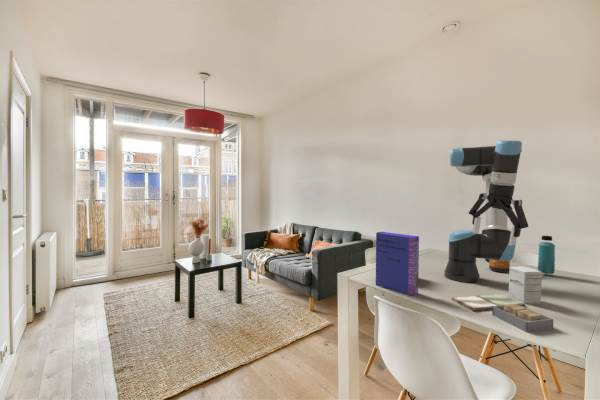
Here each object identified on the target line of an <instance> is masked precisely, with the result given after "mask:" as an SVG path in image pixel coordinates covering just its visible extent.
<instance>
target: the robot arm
mask: <svg viewBox="0 0 600 400" xmlns="http://www.w3.org/2000/svg"><path fill="white" fill-rule="evenodd" d="M522 148H523V143H522V140H521V141H520V140H498V141H497V142H496V145H491V146H490V145H489V146H476V147H457V148H451V150H450V152H449V153H450V154H449V156H450V157H449V158H450V159H449V164H450V166H451V167H455V169H456V170H457V171H458V172H459V173H461V174H463V175H464V174H465V175H467V176H473V177H474V176H477V177H479V176H480V177H482V180H483V181H484V182H485V192H484V193H482V192H481V193H480V194H479V196H478V199H477V200H476V202H475V203H474V204H473V206H472V207H471V208H470V210H469V211H468V215H471V216H472V225H473V228H472V229H459V230H458V229H457V230H453V231H451V232H449V238H448V261H447V263H446V266H445V269H444V274H443V276H444V277H445V278H447V279H449V280H452V281H456V282H461V283H477V282H479V281H481V280H480V273H479V270H478V267H477V263H476V262H477V259H483V260H485V259H491V260H499V261H510V262H511V261H512V260H513V258H514V255H515V250H516V246H517V245H516V244H517V238H519V237H521V232H522V229H527V228H529V223H528V221H527V217H526V214H525V211H524V209H523V200H522V199H513V196H514V192H515V187H516V186H515V184H516V183H517V182H516V180H517V176H518V175H517V174H518V168H519V163H520V159H521V153H522V150H523V149H522ZM484 202H485V204H484V205H483V203H484ZM482 205H483V206H482ZM512 206H513V207H512ZM480 207H481V208H480ZM513 208H514V211H513ZM484 213H485V227H484V228H483V229H482V230H481V233H480V228H481V227H480V226H481V222H482V221H481V220H482V217H481V215H482V214H484ZM508 219H509V220H510V222H511V224H512V225H513V227H511V229H509V228H508Z"/></svg>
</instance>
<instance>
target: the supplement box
mask: <svg viewBox="0 0 600 400" xmlns="http://www.w3.org/2000/svg"><path fill="white" fill-rule="evenodd" d="M508 273H509V274H508V275H509V276H508V277H509V278H508V296H507V297H508V298H510V299H513V300H515V301H518V302H520V303H523V304H525V305H526V304H536V305H541V302H542V283H543V282H542V280H543V273H542V272H541V271H538V269H534V268H531V267H528V266H510V271H509V272H508Z"/></svg>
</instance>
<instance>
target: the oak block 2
mask: <svg viewBox="0 0 600 400" xmlns="http://www.w3.org/2000/svg"><path fill="white" fill-rule="evenodd" d="M530 310H531V309H530ZM530 310H519V311H518V318H520V319H522V320H525V321H535V320H541V315H540V314H541V313H539V314H537V313H538V312H537V313H535V312H536V311H535V312H533V311H534V310H532V311H530Z"/></svg>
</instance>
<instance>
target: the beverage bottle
mask: <svg viewBox="0 0 600 400" xmlns="http://www.w3.org/2000/svg"><path fill="white" fill-rule="evenodd" d="M541 240H543V241H541V242H539V243H538V258H537V262H538V263H537V270H538V271H541V272H542V274H545V275H546V274H547V275H554V274H555V270H556V269H555V268H556V265H555V263H556V261H555V260H556V258H555V257H556V253H555V252H556V251H555V249H556V244H554V243H553V242H552V241H553V236H552V235H541ZM549 241H550V242H549Z"/></svg>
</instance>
